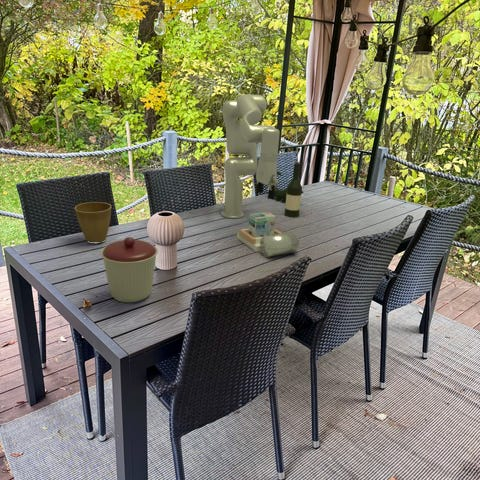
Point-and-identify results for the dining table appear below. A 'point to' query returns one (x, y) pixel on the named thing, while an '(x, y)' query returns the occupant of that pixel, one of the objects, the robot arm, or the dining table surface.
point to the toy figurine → (281, 192)
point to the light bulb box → (261, 224)
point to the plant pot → (94, 220)
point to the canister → (129, 268)
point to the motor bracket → (270, 242)
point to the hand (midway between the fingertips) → (265, 195)
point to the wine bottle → (293, 194)
